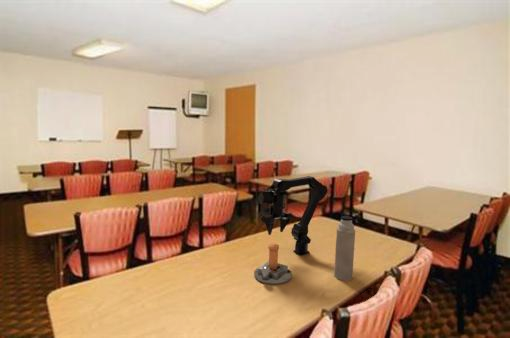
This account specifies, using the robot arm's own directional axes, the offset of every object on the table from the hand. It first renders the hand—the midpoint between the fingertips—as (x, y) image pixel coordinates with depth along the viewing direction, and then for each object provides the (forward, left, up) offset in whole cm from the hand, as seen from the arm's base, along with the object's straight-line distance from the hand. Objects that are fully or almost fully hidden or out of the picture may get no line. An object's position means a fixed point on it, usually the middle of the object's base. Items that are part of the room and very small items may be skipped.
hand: (275, 233), depth 165 cm
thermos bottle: (-12, +34, -13) cm, 39 cm away
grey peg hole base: (+14, +15, -13) cm, 24 cm away
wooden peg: (+14, +15, -12) cm, 24 cm away
